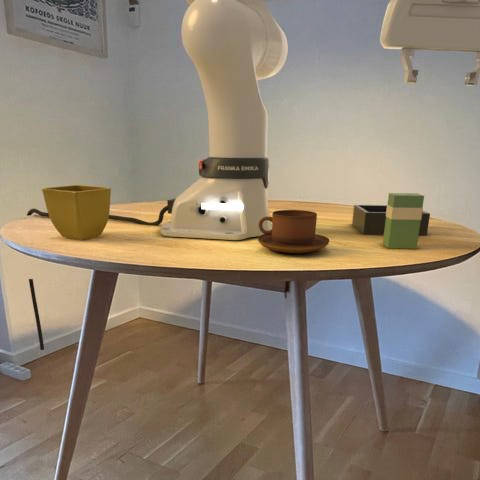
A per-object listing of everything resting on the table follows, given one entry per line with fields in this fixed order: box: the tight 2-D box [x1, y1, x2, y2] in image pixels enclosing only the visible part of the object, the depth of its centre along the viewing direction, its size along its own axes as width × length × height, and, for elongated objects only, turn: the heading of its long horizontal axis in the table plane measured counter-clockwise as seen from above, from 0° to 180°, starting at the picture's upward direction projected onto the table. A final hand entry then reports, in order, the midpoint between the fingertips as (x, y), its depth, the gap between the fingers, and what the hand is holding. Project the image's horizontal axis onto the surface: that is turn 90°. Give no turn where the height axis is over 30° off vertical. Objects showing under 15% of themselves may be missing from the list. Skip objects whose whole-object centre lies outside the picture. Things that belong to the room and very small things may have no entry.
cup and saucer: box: [257, 209, 330, 254], centre depth 78 cm, size 12×12×6 cm
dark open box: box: [351, 204, 431, 236], centre depth 98 cm, size 13×12×4 cm
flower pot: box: [41, 184, 112, 241], centre depth 86 cm, size 9×9×9 cm
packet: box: [382, 192, 425, 250], centre depth 81 cm, size 5×4×9 cm
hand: (439, 84), depth 73 cm, fingers open, 8 cm apart
